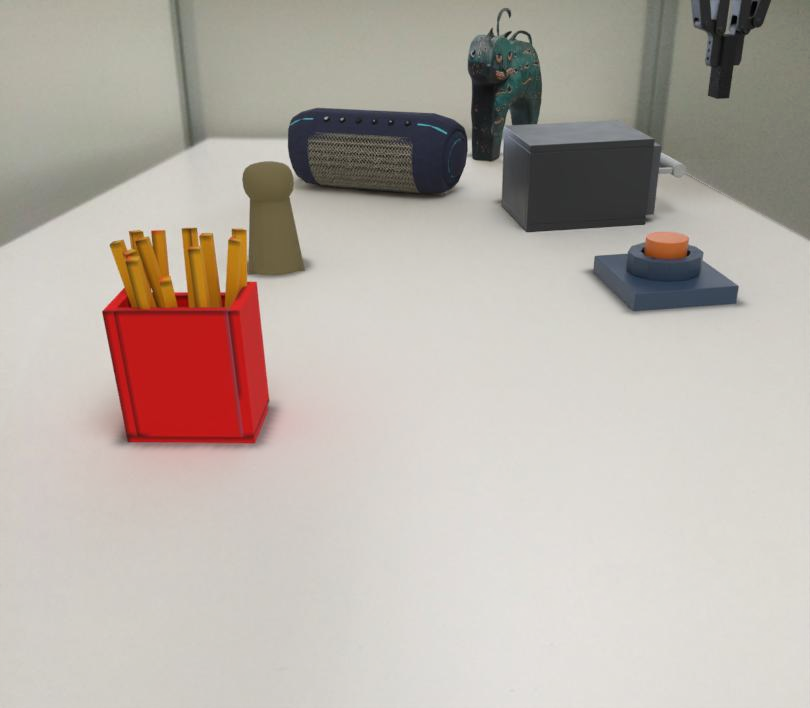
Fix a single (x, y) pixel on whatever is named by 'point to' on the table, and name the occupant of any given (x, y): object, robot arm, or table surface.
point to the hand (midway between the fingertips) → (718, 96)
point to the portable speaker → (377, 150)
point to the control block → (664, 280)
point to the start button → (666, 245)
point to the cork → (271, 220)
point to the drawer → (661, 166)
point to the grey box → (576, 175)
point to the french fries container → (187, 343)
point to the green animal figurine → (501, 87)
